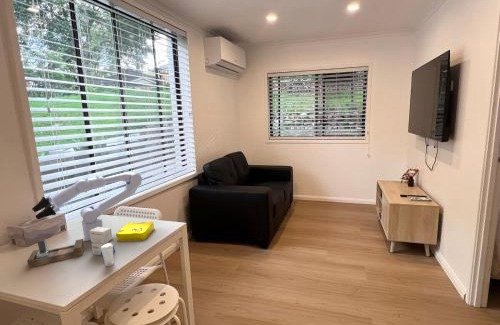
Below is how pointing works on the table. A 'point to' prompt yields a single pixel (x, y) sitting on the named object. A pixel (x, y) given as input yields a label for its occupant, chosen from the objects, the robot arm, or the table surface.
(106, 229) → the ink box
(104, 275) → the table surface
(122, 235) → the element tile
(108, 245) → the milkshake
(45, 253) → the sliding jaw
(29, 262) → the base
